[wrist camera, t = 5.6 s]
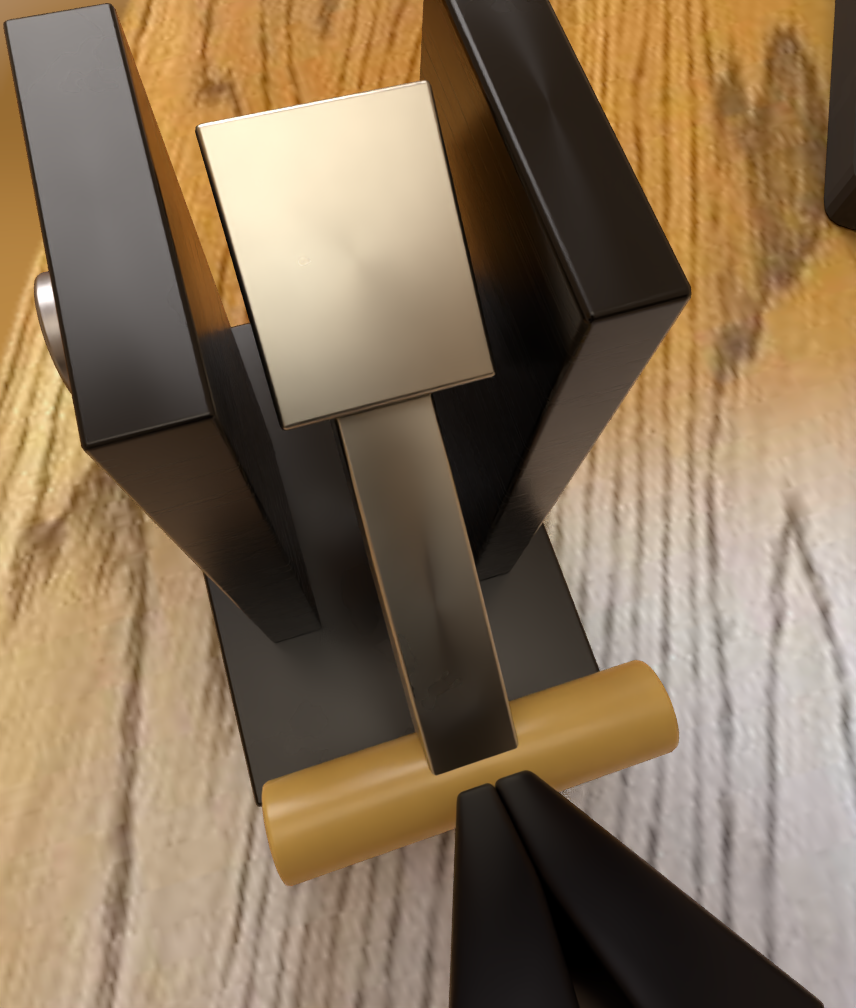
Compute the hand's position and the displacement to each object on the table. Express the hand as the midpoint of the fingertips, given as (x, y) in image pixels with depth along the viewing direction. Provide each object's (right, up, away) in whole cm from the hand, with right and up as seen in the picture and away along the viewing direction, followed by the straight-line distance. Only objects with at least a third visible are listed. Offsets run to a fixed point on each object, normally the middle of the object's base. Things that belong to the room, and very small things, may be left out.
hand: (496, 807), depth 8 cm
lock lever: (-1, +3, +2) cm, 4 cm away
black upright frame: (-2, +3, +9) cm, 9 cm away
